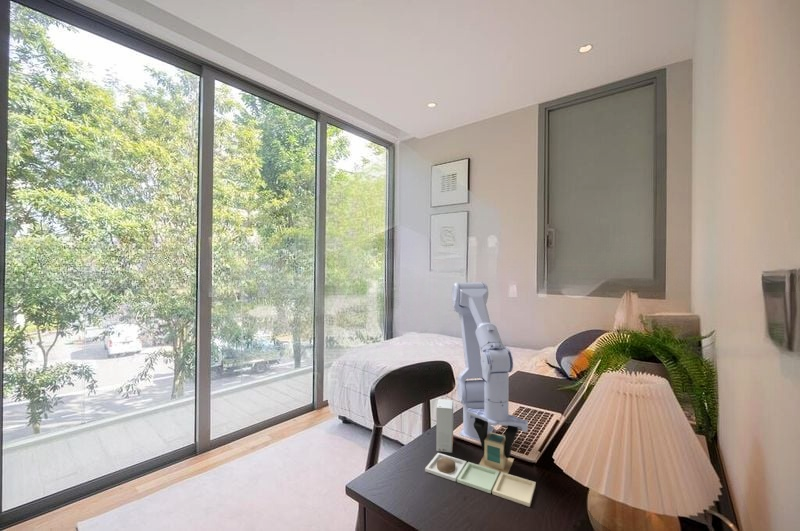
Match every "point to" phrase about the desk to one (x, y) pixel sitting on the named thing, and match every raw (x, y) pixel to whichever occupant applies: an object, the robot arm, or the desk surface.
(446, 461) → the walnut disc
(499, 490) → the tray sand
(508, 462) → the cork pad
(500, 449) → the beige block teal panels
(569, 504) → the desk surface
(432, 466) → the tray white
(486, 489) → the tray sage
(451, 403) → the skincare box
